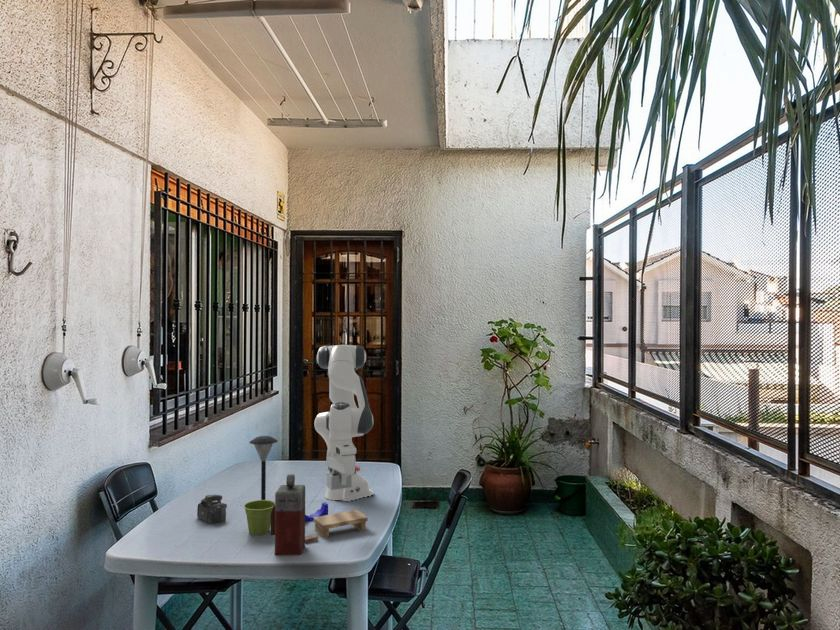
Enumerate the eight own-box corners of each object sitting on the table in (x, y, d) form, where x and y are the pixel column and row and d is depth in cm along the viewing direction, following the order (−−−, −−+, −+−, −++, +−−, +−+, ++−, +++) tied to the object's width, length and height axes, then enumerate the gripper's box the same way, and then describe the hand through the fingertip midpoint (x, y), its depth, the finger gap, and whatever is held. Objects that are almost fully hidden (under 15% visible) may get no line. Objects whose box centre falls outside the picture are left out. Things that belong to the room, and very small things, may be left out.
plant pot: (258, 542, 212) (258, 511, 212) (236, 536, 218) (236, 506, 218) (282, 532, 222) (282, 503, 222) (260, 526, 228) (260, 497, 228)
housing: (326, 486, 222) (327, 470, 222) (346, 483, 226) (346, 468, 226) (331, 489, 218) (331, 473, 218) (351, 487, 221) (351, 471, 221)
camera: (233, 518, 238) (233, 493, 238) (216, 526, 228) (217, 501, 228) (207, 514, 242) (207, 490, 242) (190, 522, 233) (190, 497, 233)
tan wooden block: (314, 542, 213) (314, 534, 213) (317, 545, 211) (318, 536, 211) (301, 545, 210) (301, 537, 210) (305, 548, 208) (305, 539, 208)
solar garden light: (270, 512, 245) (270, 441, 245) (243, 510, 247) (243, 439, 247) (282, 503, 257) (283, 435, 257) (256, 501, 259) (257, 434, 259)
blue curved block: (323, 515, 242) (323, 501, 242) (328, 519, 238) (328, 504, 238) (296, 521, 235) (296, 506, 235) (299, 524, 232) (300, 509, 232)
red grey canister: (272, 550, 205) (273, 471, 205) (305, 550, 205) (305, 471, 205) (267, 561, 196) (268, 478, 196) (301, 561, 196) (301, 478, 197)
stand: (356, 524, 231) (356, 509, 231) (367, 533, 222) (367, 517, 222) (313, 533, 222) (313, 517, 222) (322, 542, 213) (322, 525, 213)
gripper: (322, 441, 229) (322, 476, 229) (342, 452, 212) (342, 490, 212) (337, 440, 233) (337, 474, 232) (358, 450, 215) (358, 487, 215)
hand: (339, 482), depth 222 cm, fingers closed on housing, 5 cm apart
